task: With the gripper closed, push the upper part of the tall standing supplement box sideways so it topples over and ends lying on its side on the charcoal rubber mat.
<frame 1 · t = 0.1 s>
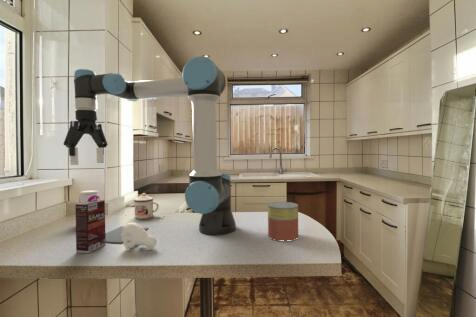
hand: (88, 164, 107), 28 cm above the countertop, tool pointing down, fingers open, 13 cm apart
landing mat: (121, 234, 105), on the countertop
supplement box: (92, 249, 91), on the countertop
white irregular piece: (140, 249, 90), on the countertop
teacup with lid: (147, 217, 134), on the countertop
canned food: (283, 237, 100), on the countertop
supplement can: (90, 224, 122), on the countertop
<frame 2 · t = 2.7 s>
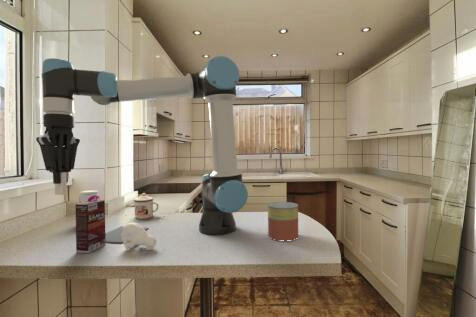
hand: (61, 194, 79), 20 cm above the countertop, tool pointing down, fingers closed
nothing on the countertop moved.
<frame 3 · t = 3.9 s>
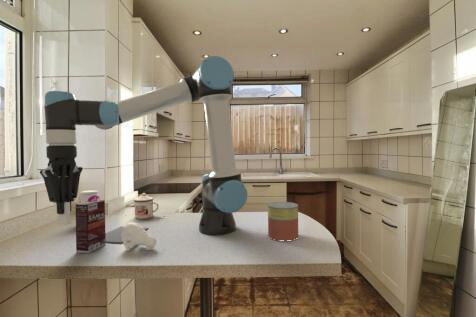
hand: (64, 223, 80), 11 cm above the countertop, tool pointing down, fingers closed
nothing on the countertop moved.
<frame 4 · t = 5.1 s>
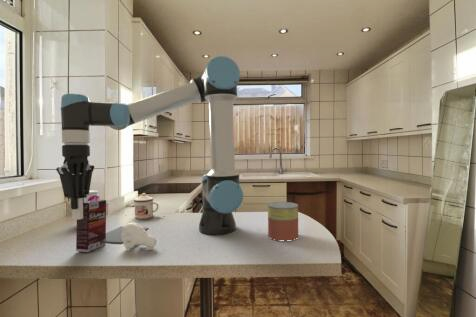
hand: (77, 218, 85), 12 cm above the countertop, tool pointing down, fingers closed
supplement box: (91, 248, 91), on the countertop, touching gripper
everything else where it was.
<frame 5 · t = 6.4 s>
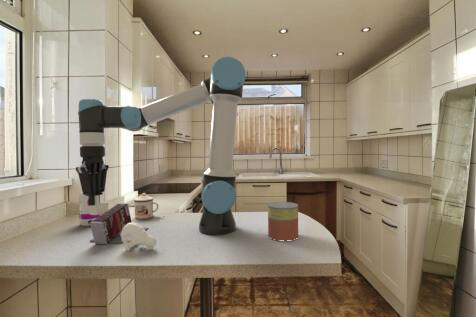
hand: (94, 214, 92), 11 cm above the countertop, tool pointing down, fingers closed
supplement box: (97, 234, 93), point 4 cm above the countertop, touching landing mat
everything else where it was.
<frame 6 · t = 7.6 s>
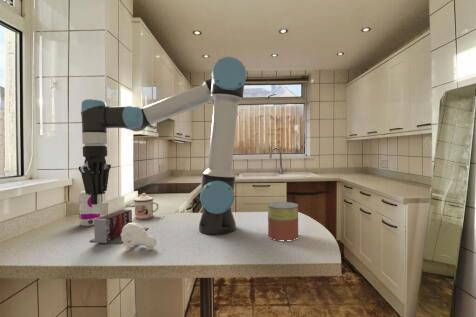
hand: (97, 213, 93), 11 cm above the countertop, tool pointing down, fingers closed
supplement box: (99, 231, 94), point 5 cm above the countertop, touching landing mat
everything else where it was.
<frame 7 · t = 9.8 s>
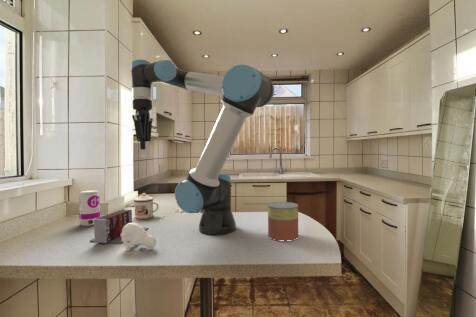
hand: (144, 157, 110), 30 cm above the countertop, tool pointing down, fingers closed
nothing on the countertop moved.
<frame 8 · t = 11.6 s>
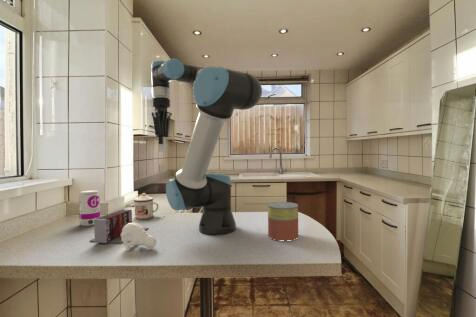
hand: (162, 151, 119), 32 cm above the countertop, tool pointing down, fingers closed
nothing on the countertop moved.
at the end: supplement box tilted 89°; supplement box touching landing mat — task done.
